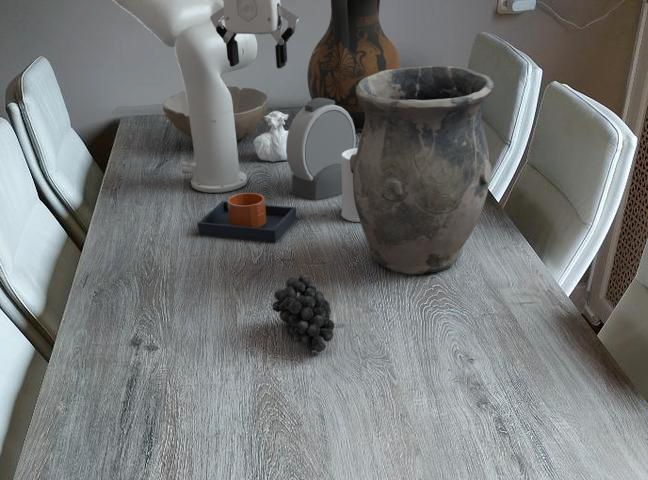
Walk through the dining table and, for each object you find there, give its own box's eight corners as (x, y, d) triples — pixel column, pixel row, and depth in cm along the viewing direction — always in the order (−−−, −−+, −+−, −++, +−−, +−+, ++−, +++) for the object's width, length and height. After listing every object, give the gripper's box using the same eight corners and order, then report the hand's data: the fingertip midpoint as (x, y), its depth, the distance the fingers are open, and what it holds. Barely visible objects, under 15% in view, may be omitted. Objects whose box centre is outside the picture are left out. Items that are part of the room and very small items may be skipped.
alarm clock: (333, 174, 182) (330, 87, 170) (365, 184, 176) (364, 95, 165) (280, 193, 174) (273, 103, 162) (312, 204, 168) (308, 112, 156)
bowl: (291, 133, 207) (288, 91, 201) (228, 163, 191) (223, 118, 184) (213, 120, 219) (208, 81, 212) (147, 147, 202) (140, 105, 195)
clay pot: (329, 256, 147) (323, 79, 128) (422, 224, 157) (430, 56, 138) (408, 298, 133) (415, 107, 114) (505, 261, 143) (526, 79, 124)
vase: (403, 136, 203) (407, -26, 180) (307, 138, 203) (300, -22, 181) (398, 109, 221) (401, -40, 199) (310, 112, 222) (304, -36, 200)
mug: (396, 204, 166) (397, 145, 158) (401, 220, 160) (403, 158, 152) (339, 207, 166) (338, 148, 158) (343, 223, 159) (341, 162, 152)
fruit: (333, 304, 113) (308, 259, 124) (280, 329, 113) (260, 282, 124) (352, 351, 118) (327, 304, 129) (301, 375, 119) (281, 326, 130)
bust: (304, 164, 194) (298, 118, 194) (306, 152, 187) (300, 104, 186) (255, 169, 193) (249, 122, 193) (256, 157, 186) (249, 108, 185)
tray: (198, 234, 157) (197, 223, 155) (223, 212, 166) (222, 200, 164) (275, 242, 153) (274, 230, 151) (296, 219, 162) (295, 207, 160)
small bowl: (224, 229, 157) (221, 204, 154) (238, 216, 162) (236, 191, 159) (258, 233, 155) (256, 207, 152) (271, 219, 161) (269, 194, 157)
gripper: (196, -37, 142) (208, 68, 153) (287, -37, 137) (293, 72, 148) (213, -43, 147) (224, 60, 158) (301, -43, 143) (306, 63, 154)
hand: (257, 65), depth 153 cm, fingers open, 9 cm apart
